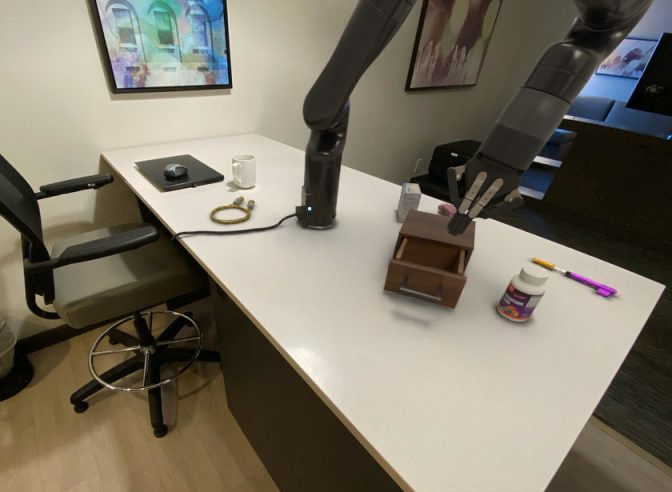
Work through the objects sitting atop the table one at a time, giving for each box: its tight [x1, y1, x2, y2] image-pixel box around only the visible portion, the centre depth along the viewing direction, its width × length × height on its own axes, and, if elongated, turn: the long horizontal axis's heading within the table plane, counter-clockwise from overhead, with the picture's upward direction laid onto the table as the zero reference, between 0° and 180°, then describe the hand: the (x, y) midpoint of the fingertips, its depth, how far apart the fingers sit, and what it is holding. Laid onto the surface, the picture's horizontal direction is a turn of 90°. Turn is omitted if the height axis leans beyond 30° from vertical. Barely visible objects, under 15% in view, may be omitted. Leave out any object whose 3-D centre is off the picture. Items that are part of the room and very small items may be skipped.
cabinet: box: [392, 209, 477, 276], centre depth 74 cm, size 14×15×9 cm
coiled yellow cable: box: [210, 196, 256, 225], centre depth 96 cm, size 12×16×2 cm
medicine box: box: [396, 182, 422, 223], centre depth 93 cm, size 8×4×9 cm, turn 168°
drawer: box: [382, 237, 468, 310], centre depth 64 cm, size 18×13×7 cm
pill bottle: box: [496, 264, 550, 323], centre depth 59 cm, size 5×5×10 cm
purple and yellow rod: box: [531, 257, 618, 298], centre depth 71 cm, size 3×1×16 cm
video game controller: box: [437, 202, 456, 217], centre depth 90 cm, size 10×5×7 cm, turn 5°
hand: (452, 233), depth 57 cm, fingers closed
